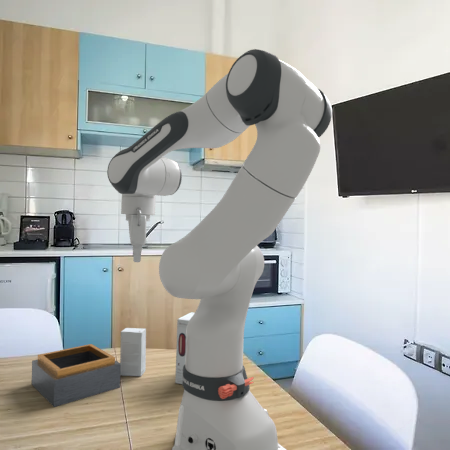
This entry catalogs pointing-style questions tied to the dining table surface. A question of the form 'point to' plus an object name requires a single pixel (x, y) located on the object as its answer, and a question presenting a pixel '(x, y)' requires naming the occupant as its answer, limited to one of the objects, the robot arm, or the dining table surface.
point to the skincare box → (133, 352)
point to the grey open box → (74, 374)
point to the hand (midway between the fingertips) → (136, 259)
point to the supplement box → (181, 345)
